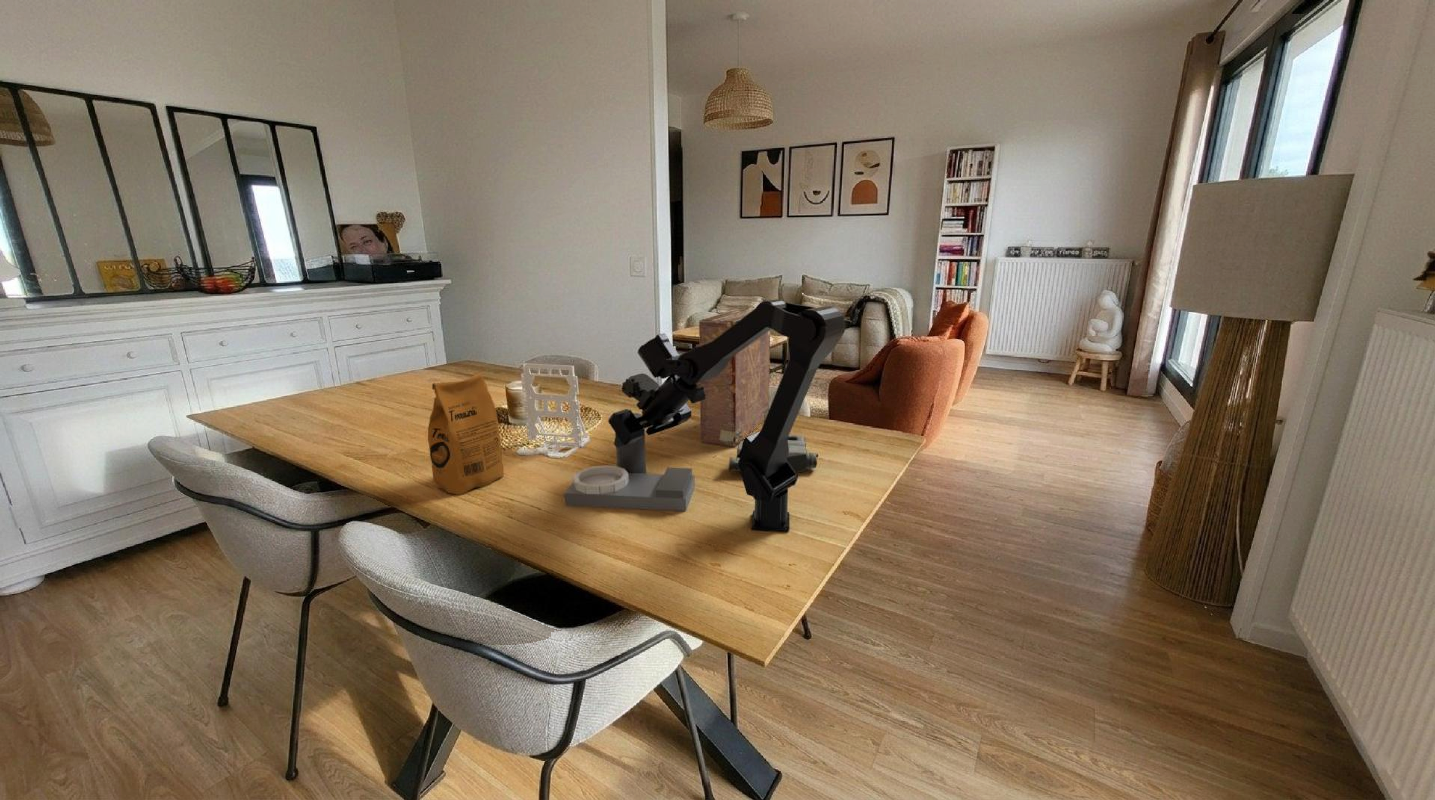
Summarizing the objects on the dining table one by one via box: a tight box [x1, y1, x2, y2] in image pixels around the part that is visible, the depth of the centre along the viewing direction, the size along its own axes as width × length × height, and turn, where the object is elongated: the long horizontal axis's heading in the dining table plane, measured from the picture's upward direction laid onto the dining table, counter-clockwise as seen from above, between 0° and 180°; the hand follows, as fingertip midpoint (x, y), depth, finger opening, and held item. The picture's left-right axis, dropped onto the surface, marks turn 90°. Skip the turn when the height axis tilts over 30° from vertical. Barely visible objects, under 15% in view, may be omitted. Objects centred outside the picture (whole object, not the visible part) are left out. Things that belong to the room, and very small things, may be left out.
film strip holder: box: [515, 363, 591, 459], centre depth 134 cm, size 14×14×20 cm
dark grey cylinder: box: [614, 412, 647, 474], centre depth 118 cm, size 6×6×13 cm
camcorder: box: [728, 433, 819, 473], centre depth 126 cm, size 16×20×5 cm
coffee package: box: [427, 372, 505, 496], centre depth 114 cm, size 10×12×22 cm
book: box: [698, 308, 771, 448], centre depth 144 cm, size 25×9×30 cm, turn 157°
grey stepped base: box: [563, 464, 696, 512], centre depth 110 cm, size 11×23×4 cm, turn 83°
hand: (632, 439), depth 117 cm, fingers open, 9 cm apart
